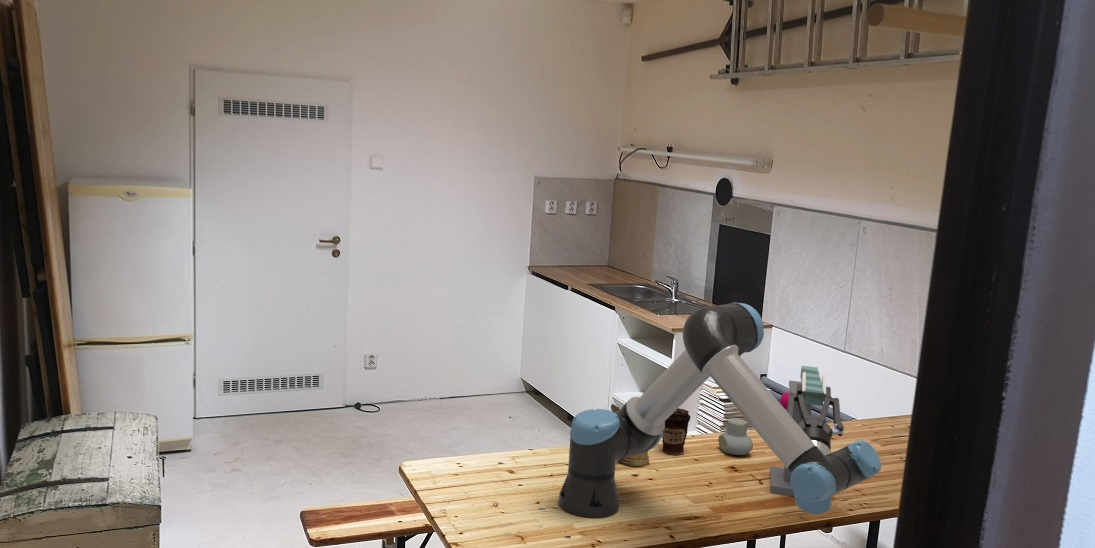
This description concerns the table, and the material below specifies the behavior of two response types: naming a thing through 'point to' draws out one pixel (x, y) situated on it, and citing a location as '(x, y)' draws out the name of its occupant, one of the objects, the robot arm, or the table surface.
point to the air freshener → (736, 438)
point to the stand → (782, 475)
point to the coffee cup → (675, 432)
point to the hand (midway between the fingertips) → (813, 377)
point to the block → (813, 386)
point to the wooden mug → (635, 459)
